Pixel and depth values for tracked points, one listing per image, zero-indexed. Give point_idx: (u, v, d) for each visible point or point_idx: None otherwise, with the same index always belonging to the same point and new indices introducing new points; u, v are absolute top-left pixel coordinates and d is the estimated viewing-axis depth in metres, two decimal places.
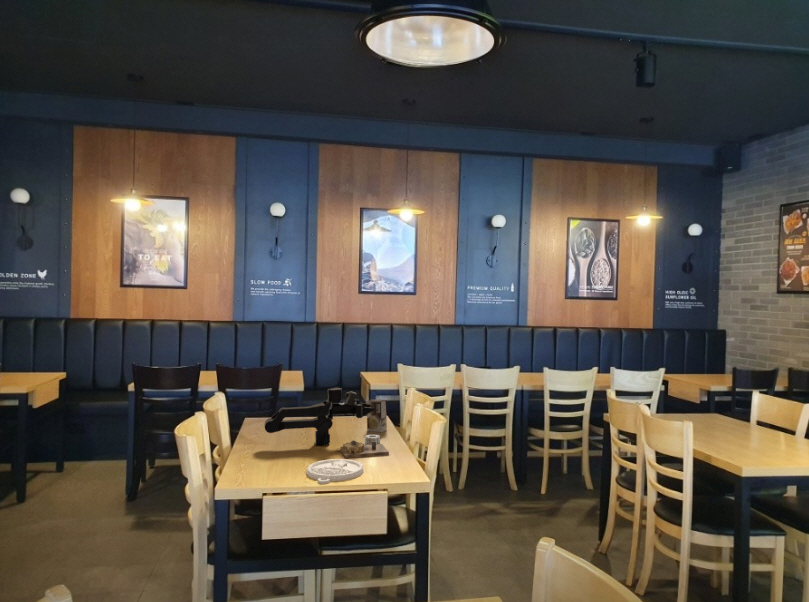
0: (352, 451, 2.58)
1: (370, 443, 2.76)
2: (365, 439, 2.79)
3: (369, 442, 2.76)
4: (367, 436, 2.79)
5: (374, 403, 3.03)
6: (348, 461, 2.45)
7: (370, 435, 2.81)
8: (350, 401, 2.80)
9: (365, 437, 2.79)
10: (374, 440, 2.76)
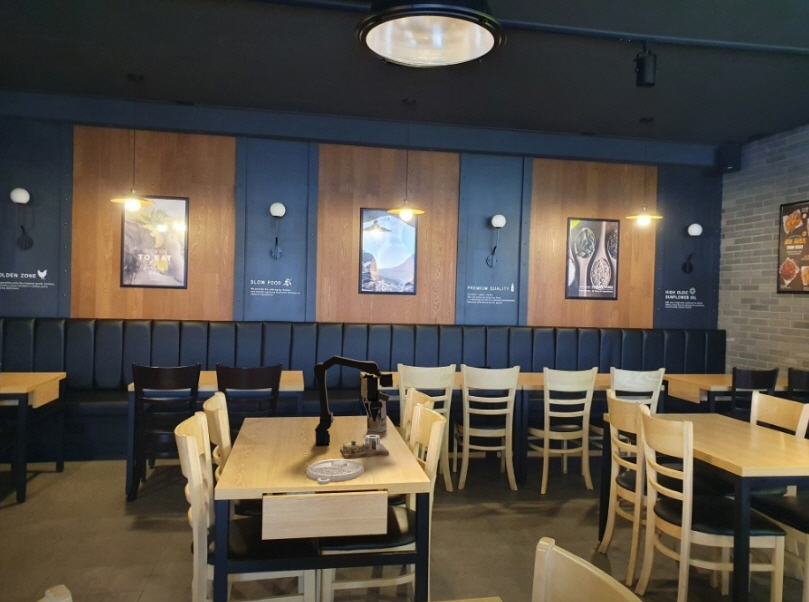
0: (352, 451, 2.58)
1: (370, 443, 2.76)
2: (365, 439, 2.79)
3: (369, 442, 2.76)
4: (367, 436, 2.79)
5: None
6: (348, 461, 2.45)
7: (370, 435, 2.81)
8: (381, 395, 2.78)
9: (365, 437, 2.79)
10: (374, 440, 2.76)
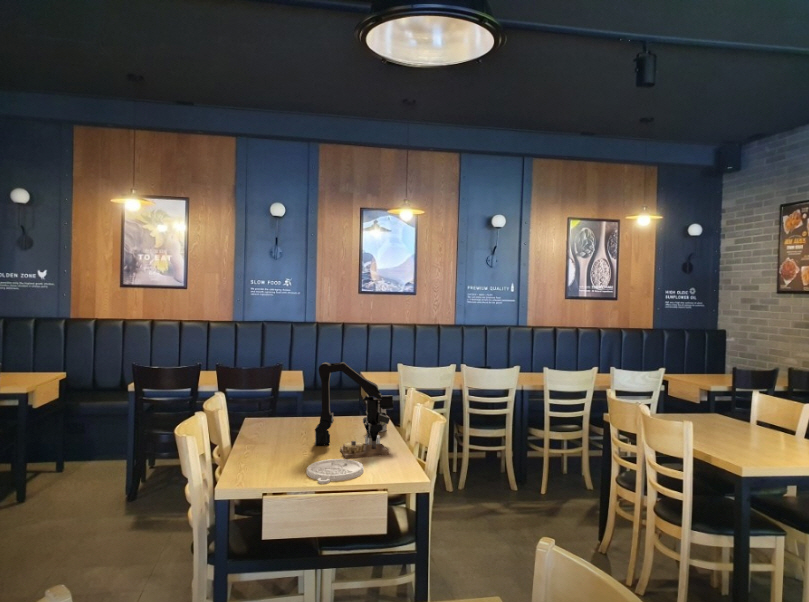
0: (352, 451, 2.58)
1: (370, 443, 2.76)
2: (365, 439, 2.79)
3: (369, 442, 2.76)
4: (367, 436, 2.79)
5: None
6: (348, 461, 2.45)
7: None
8: (381, 418, 2.78)
9: (365, 437, 2.79)
10: None
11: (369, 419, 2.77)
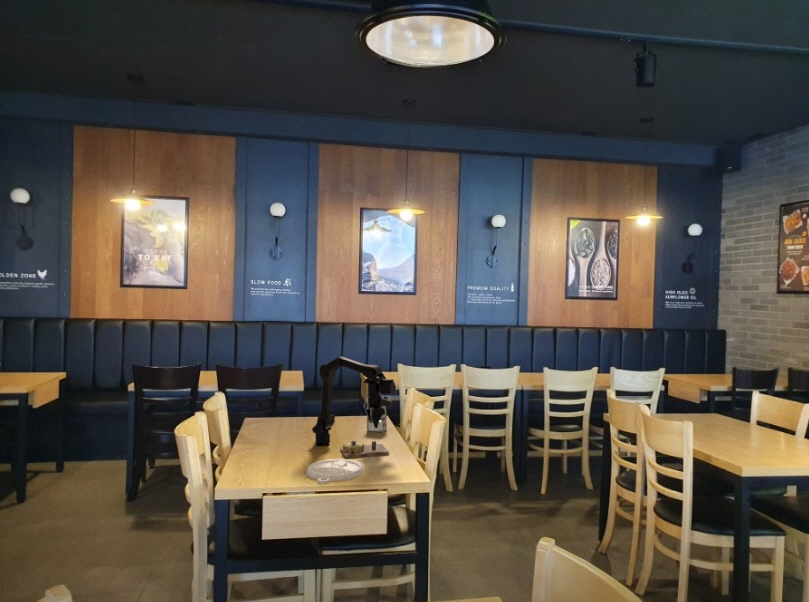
0: (352, 451, 2.58)
1: (372, 428, 2.63)
2: None
3: (371, 427, 2.62)
4: (369, 421, 2.65)
5: None
6: (348, 461, 2.45)
7: None
8: (383, 401, 2.64)
9: None
10: None
11: (370, 403, 2.63)
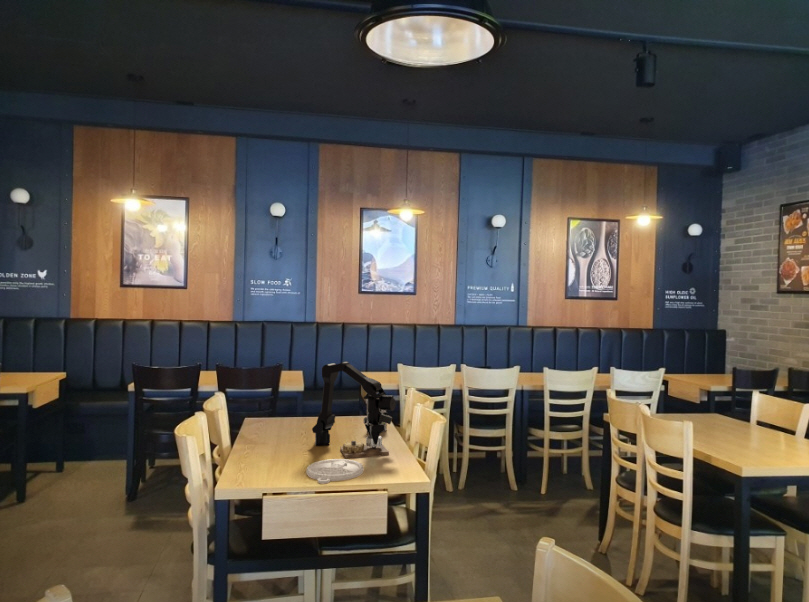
0: (352, 451, 2.58)
1: (371, 444, 2.62)
2: (366, 440, 2.65)
3: (370, 443, 2.62)
4: (368, 437, 2.65)
5: None
6: (348, 461, 2.45)
7: (371, 436, 2.67)
8: (383, 417, 2.64)
9: (366, 438, 2.65)
10: None
11: (370, 419, 2.62)
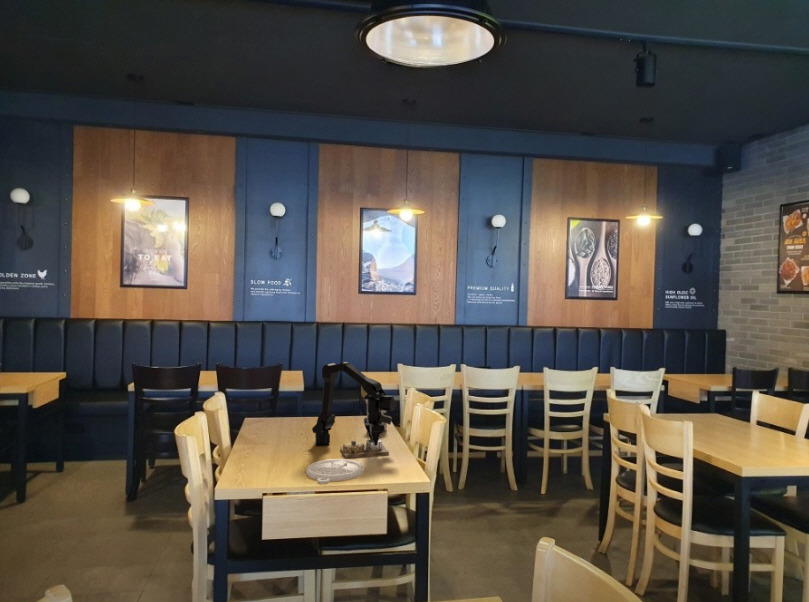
0: (352, 451, 2.58)
1: (371, 448, 2.62)
2: (366, 444, 2.65)
3: (370, 447, 2.62)
4: (368, 440, 2.65)
5: None
6: (348, 461, 2.45)
7: (371, 439, 2.67)
8: (383, 418, 2.63)
9: (366, 441, 2.65)
10: (376, 445, 2.62)
11: (370, 419, 2.62)
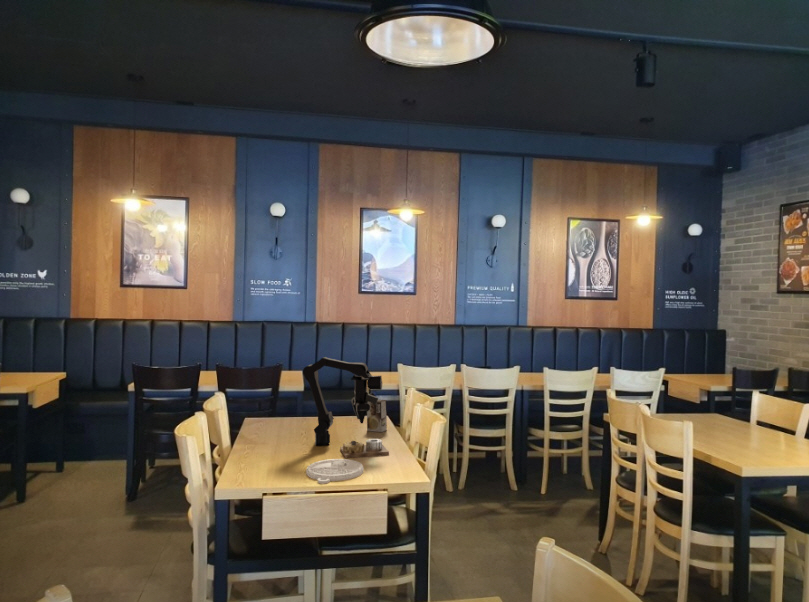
0: (352, 451, 2.58)
1: (371, 448, 2.62)
2: (366, 444, 2.65)
3: (370, 447, 2.62)
4: (368, 440, 2.65)
5: None
6: (348, 461, 2.45)
7: (371, 439, 2.67)
8: (369, 398, 2.75)
9: (366, 441, 2.65)
10: (376, 445, 2.62)
11: (357, 399, 2.74)
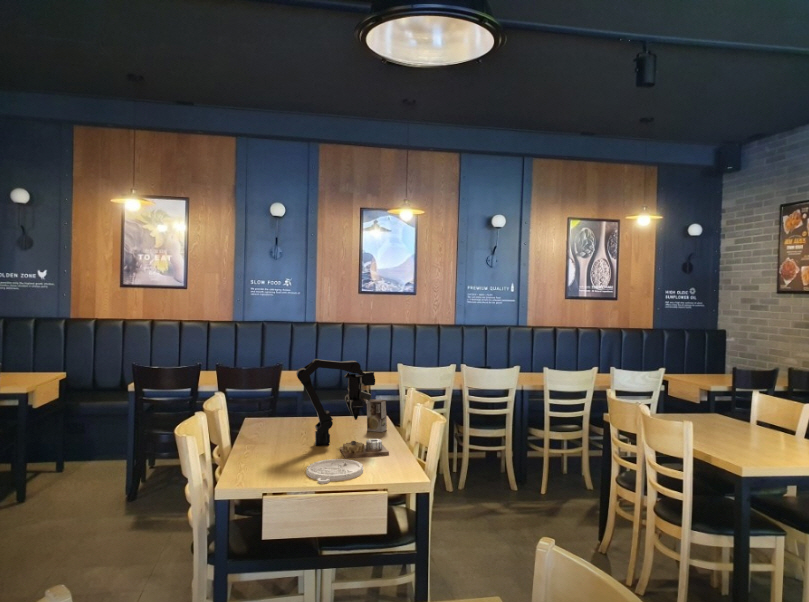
0: (352, 451, 2.58)
1: (371, 448, 2.62)
2: (366, 444, 2.65)
3: (370, 447, 2.62)
4: (368, 440, 2.65)
5: (374, 403, 3.03)
6: (348, 461, 2.45)
7: (371, 439, 2.67)
8: (363, 394, 2.81)
9: (366, 441, 2.65)
10: (376, 445, 2.62)
11: (350, 396, 2.80)
